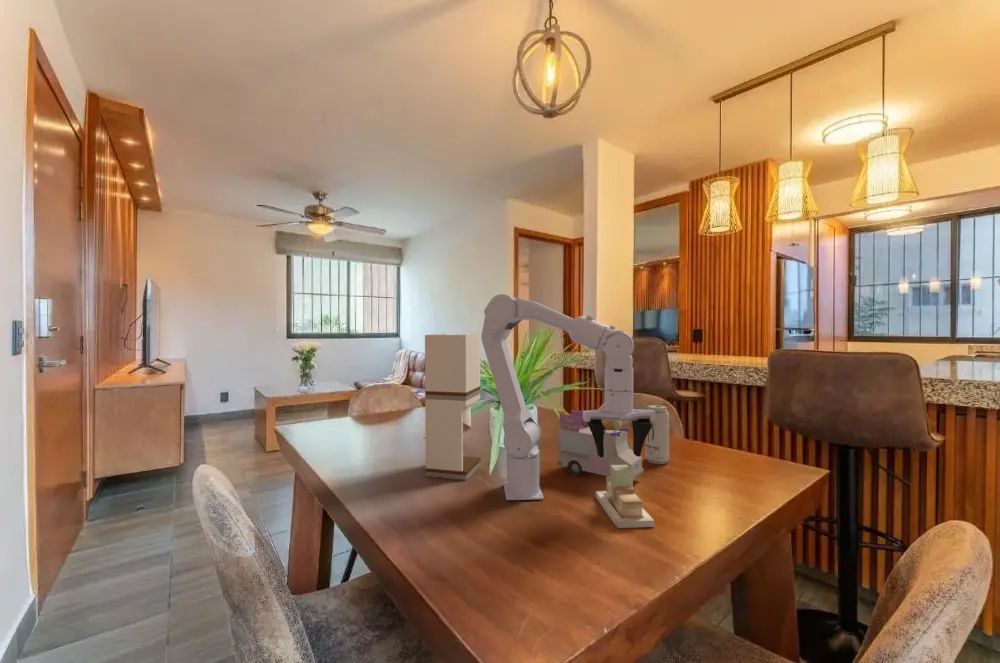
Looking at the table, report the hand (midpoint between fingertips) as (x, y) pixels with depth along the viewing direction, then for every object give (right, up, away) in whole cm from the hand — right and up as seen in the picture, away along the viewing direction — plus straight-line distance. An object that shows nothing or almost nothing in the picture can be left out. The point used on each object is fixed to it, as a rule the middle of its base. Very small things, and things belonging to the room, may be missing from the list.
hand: (618, 455), depth 89 cm
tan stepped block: (0, -11, -3) cm, 11 cm away
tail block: (0, -6, -1) cm, 6 cm away
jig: (0, -10, -2) cm, 11 cm away
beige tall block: (-36, -10, +22) cm, 44 cm away
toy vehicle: (0, -10, +18) cm, 21 cm away
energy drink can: (+18, -10, +29) cm, 36 cm away
